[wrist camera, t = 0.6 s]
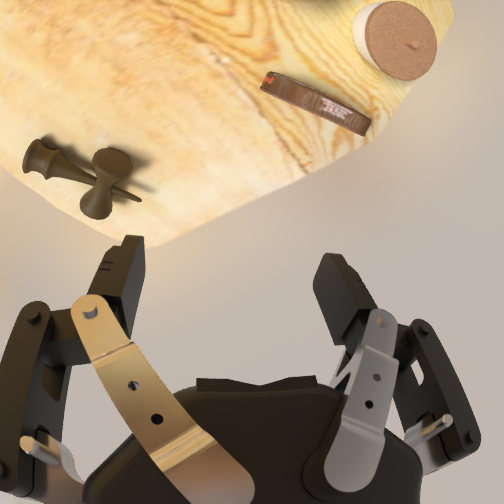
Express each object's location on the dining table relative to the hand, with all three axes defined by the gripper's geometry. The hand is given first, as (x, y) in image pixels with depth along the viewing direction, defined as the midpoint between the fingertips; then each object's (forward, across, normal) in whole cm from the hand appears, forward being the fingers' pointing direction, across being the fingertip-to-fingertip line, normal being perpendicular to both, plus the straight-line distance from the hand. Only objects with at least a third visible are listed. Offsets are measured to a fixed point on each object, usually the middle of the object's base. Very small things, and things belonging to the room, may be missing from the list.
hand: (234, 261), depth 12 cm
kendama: (+28, +20, +6) cm, 35 cm away
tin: (+28, -10, -8) cm, 31 cm away
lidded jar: (+26, -16, -20) cm, 37 cm away
